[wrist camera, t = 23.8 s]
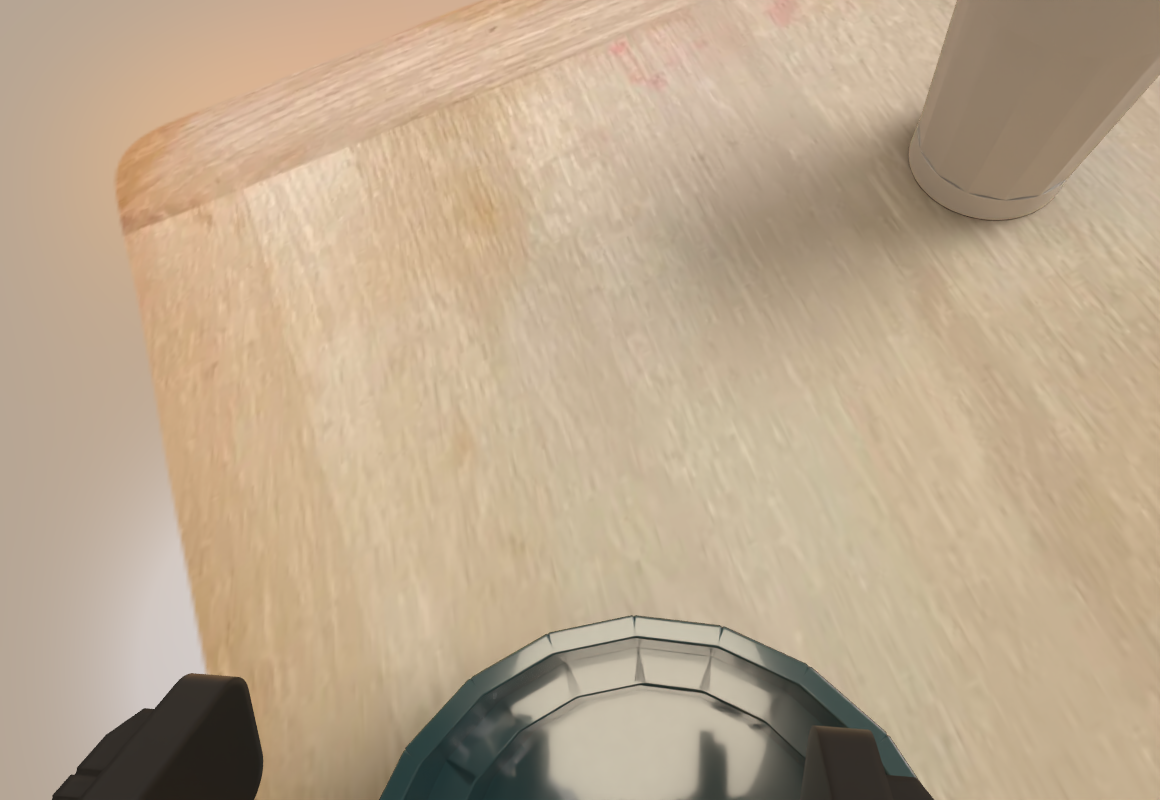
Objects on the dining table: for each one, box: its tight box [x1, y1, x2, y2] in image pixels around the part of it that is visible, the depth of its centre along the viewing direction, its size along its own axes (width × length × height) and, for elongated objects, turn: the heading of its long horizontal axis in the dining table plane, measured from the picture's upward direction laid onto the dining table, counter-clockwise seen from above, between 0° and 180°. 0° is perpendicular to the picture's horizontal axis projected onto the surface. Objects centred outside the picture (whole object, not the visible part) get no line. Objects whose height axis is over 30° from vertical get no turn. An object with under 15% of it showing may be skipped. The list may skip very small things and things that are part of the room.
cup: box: [909, 0, 1160, 220], centre depth 27 cm, size 8×8×12 cm
